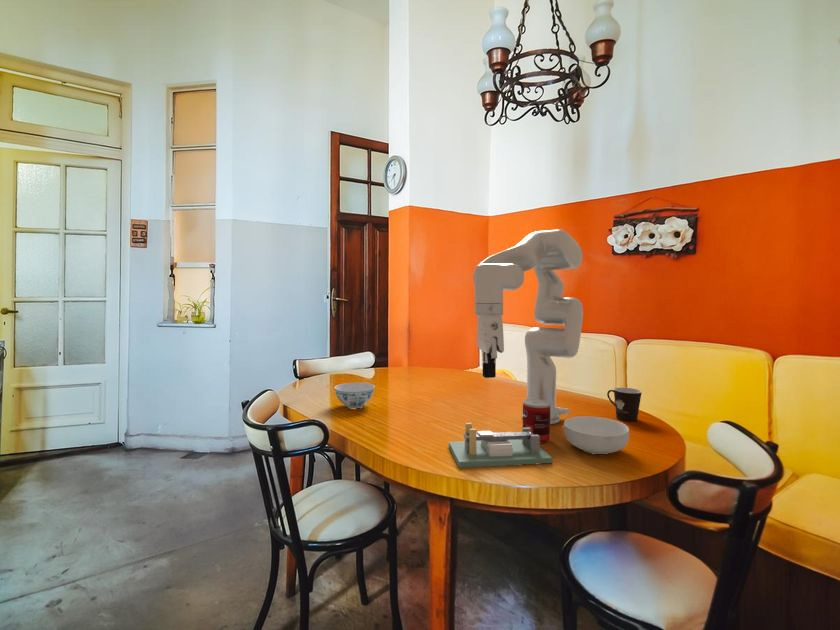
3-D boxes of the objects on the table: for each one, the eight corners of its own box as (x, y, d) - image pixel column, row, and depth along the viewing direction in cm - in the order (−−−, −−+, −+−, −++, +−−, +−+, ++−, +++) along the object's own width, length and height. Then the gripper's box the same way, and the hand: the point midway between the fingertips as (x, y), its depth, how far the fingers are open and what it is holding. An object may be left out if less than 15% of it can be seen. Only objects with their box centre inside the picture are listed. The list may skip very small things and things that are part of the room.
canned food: (528, 432, 129) (529, 397, 128) (553, 438, 123) (554, 401, 123) (517, 439, 123) (518, 402, 122) (543, 445, 118) (544, 407, 117)
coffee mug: (645, 422, 138) (646, 393, 138) (620, 422, 138) (621, 393, 138) (628, 412, 150) (629, 385, 150) (604, 412, 150) (605, 385, 150)
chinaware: (339, 401, 164) (339, 382, 164) (377, 401, 164) (377, 382, 163) (330, 412, 149) (330, 391, 149) (371, 412, 149) (371, 391, 148)
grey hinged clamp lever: (530, 435, 113) (530, 429, 113) (536, 440, 109) (536, 434, 109) (463, 437, 111) (463, 430, 111) (466, 442, 107) (466, 435, 107)
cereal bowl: (564, 436, 125) (565, 413, 125) (625, 443, 119) (626, 419, 119) (562, 456, 110) (562, 430, 109) (632, 466, 104) (632, 438, 103)
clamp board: (531, 443, 119) (531, 416, 118) (552, 463, 105) (552, 432, 104) (448, 446, 116) (449, 418, 116) (459, 467, 102) (459, 436, 102)
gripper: (511, 311, 104) (511, 383, 106) (494, 308, 119) (494, 370, 121) (482, 312, 103) (483, 384, 105) (468, 308, 118) (469, 371, 120)
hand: (489, 376), depth 113 cm, fingers closed
